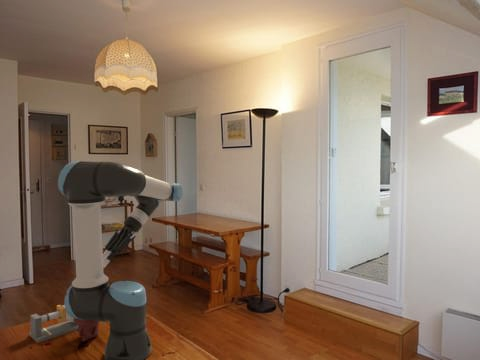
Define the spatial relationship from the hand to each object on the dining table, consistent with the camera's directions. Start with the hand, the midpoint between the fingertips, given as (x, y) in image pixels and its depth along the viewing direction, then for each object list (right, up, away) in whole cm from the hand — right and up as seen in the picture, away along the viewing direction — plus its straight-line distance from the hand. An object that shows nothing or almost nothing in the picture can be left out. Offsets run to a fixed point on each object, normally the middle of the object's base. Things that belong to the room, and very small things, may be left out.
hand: (100, 265), depth 149 cm
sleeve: (-9, -20, -9) cm, 24 cm away
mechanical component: (+2, -23, -16) cm, 28 cm away
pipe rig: (-12, -23, -12) cm, 28 cm away
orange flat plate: (-11, -19, -11) cm, 24 cm away
